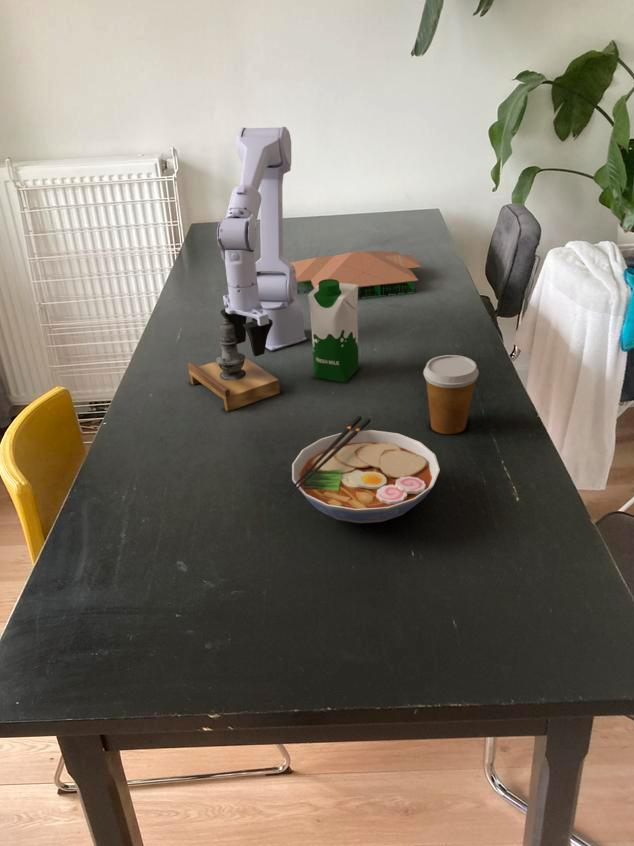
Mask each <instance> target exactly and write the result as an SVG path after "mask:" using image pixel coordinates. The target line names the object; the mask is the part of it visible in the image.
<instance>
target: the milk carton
mask: <svg viewBox="0 0 634 846" xmlns="http://www.w3.org/2000/svg"><path fill="white" fill-rule="evenodd" d="M318 284H319V285H318V286H316V288H315V289H314V288H313V289H311V290H310V291H311V292H308V294H307V299H308V304H309V305H308V306H309V312H310V327H311V342H312V344H311V345H312V359H313V373H314V374H313V375H314V378H315V379H320V380H327V381H333V382H339V383H347V382H348V381H349V379H351V377H352V376H353V375H354V374H355V372H356V371H358V369H359V367H360V366H359V325H358V323H359V321H358V319H359V318H358V300H359V292H358V291H359V287H358V285H357V284H347V283H339V281H338V280H335V279H325V280H322V281H320V282H319V283H318Z"/></svg>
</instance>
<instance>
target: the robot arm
mask: <svg viewBox="0 0 634 846" xmlns="http://www.w3.org/2000/svg"><path fill="white" fill-rule="evenodd" d="M291 138H292V137H291V134H290V130H289V129H288V128H287V127H286V126H281V127H251V128H250V127H241V128H240V130H239V131H238V133H237V138H236V148H237V154H238V157H239V158H240V162H241V164H242V167H241V174H240V181H239V185H237V186H235V187H234V188H233V189H232V190H231V191H232V192H231V194H230V198H229V202H228V206H227V209H226V213H225V217H224V218H223V219H222V220H220V221H219V222H218V223H217V229H216V241H217V245H218V249H219V251H220V254H221V259H222V261H224V266H225V273H226V282H227V291H228V294H224V295H222V300H223V301H222V302H223V305H224V306H225V308H224V309H221V310H220V315H221V316H222V317H223V318H224V319H225V318H226V319H227V320H228V321H227V322H230V323H232V324H233V325H234V329H235V337H236V338H237V339H238V341H237V342H236V343H237V345H239V344H243V343H246V341H247V340H246V339H247V336H248V338H249V339H248V340H249V342H250V347H251V351H252V355H253V356H254V357H259V356H262V355H264V354H265V352H266V349H268V350H269V351H272V352H273V351H277V350H279V349H283V348H286V347H289V346H292V345H295V344H298V343H300V342H304V341H307V337H306V335H305V321H304V310H303V306H302V304H301V302H300V301H299V300H298V299H297V296H298V293H297V290H298V283H297V279H296V269H295V267H294V266H293V265H292V264H291V263H290V262H291V261H289V260H287V259H286V258H285V257H284V252H283V251H284V237H283V235H284V234H283V233H284V226H283V225H284V224H283V222H284V221H283V216H284V215H283V210H284V209H283V208H284V207H283V205H284V204H283V183H284V176H285V174H287V173H289V172H290V171H291V169H292V168H291V167H292V139H291ZM258 217H259V221H260V222H259V224H260V227H259V224H258ZM259 228H260V231H259V232H260V258H259V259H258V260H257V261H256V252H255V250H256V248H257V244H258V229H259ZM273 272H274V273H273ZM275 272H276V273H275ZM278 272H279V273H278ZM247 318H250V319H251V321H248V322H247Z"/></svg>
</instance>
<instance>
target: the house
mask: <svg viewBox="0 0 634 846" xmlns="http://www.w3.org/2000/svg"><path fill="white" fill-rule="evenodd" d="M289 262H290V263H291V264H292V265H293V266H294V267H295V269H296V279H297V284H300V286H299V287H300V288H299V289H300V292H298V289H297V294H302V293H303V291H302V289H301V287H302V288H303V290H304V289H305V287H304V286H306V287H308V286H309V285H312V288H313V290H314V289H315V288H316V286H318V285H319V284H318V283H319V282H320V281H322V280H325V279H335V280H338V281H339V283H347V284H357V285H358V288H364V287H365V288H366V287H368V288H369V289H368V290H367V289H365V292H368V291H369V292H368V293H369V295H367V293H365V296H362V299H365V298H375V297H376V295H372V296H371V295H370V294H371V293H370V291H371V288H370V287H373V288H374V291H376V293H377V295H378V296H380V297H383V296H385V295H384V294H385V293H384V291H385V290H390V287H386V288H385V285H394V284H399V285H398V293H399V295H401V294H404V291H403V290H404V287H405V288H409V289H410V290H411V291H408V294H412V293H415V282H419V279H418V277H416V275H415V274H414V272H413V270H418V268H419V269H420V268H422V265H421V264H420V262H419V261H418V260H417V259H416V257H415V256H414V255H413V254H400V253H399V251H387V250H385V251H383V250H382V251H381V250H375V251H374V250H359V251H352V252H351V251H350V252H346V253H341V254H336V255H327V256H317V257H313V258H307V259H301V260H296V261H289ZM304 282H305V284H304ZM307 282H308V283H307ZM401 283H402V286H400V285H401ZM403 283H406V285H404V284H403ZM382 285H383V287H382V291H383V294H382V295H381V286H382ZM400 288H402V289H401V290H402V292H400ZM394 289H397V286H395V287H394ZM311 291H312V290H309V291H308V290H307V293H310V292H311ZM358 293H361V290H358ZM391 295H395V293H389V296H391Z"/></svg>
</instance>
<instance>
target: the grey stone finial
mask: <svg viewBox="0 0 634 846" xmlns="http://www.w3.org/2000/svg"><path fill="white" fill-rule="evenodd" d="M223 321H224V322H222V323H221V324H220V325H219V334H220V339H219V344H220V345H221V346H220V347H221V354H220V355H218V356H217V357H216V359H215V361H216V362H217V363H218V365H219V367H220V369H221V370H223V372H221V373H220V378H221V379H223V380H228V381H233V380H238V379H241V378H243V377H244V376H245V375H246V372H245V371H244V370H242V369H241V368H242V367H243V365H244V360H245V358H246V359H247V357H246V355H245V354H244V353H242V352H239V350H238V344H237V343H236V342H237V341H238V339H237V338H236V337H235V329H234V325H233V324H232V323H230V322H227V321H228V320H227V319H226V318H224V320H223Z"/></svg>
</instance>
